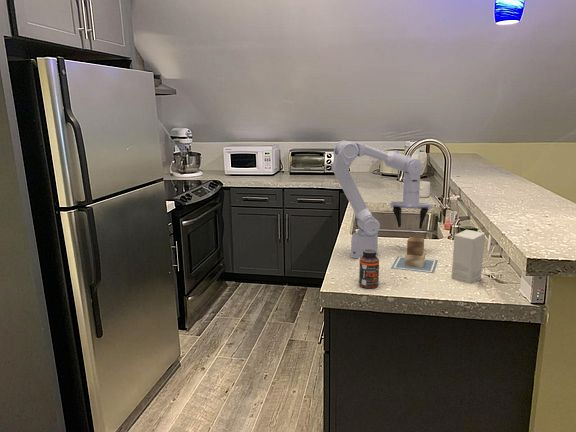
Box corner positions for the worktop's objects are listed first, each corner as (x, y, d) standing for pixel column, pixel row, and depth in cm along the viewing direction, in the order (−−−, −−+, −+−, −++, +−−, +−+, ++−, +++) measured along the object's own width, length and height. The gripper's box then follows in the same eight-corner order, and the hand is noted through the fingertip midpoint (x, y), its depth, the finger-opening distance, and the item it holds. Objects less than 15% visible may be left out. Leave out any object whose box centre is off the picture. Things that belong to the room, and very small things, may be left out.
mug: (407, 197, 280) (407, 182, 278) (413, 194, 288) (414, 180, 286) (425, 198, 273) (426, 184, 271) (431, 196, 281) (432, 181, 279)
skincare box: (462, 275, 146) (466, 228, 143) (483, 280, 142) (486, 232, 138) (450, 281, 141) (453, 234, 138) (470, 287, 136) (474, 238, 133)
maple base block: (404, 265, 153) (405, 254, 152) (407, 260, 159) (407, 249, 158) (422, 267, 151) (423, 256, 150) (424, 262, 156) (425, 251, 155)
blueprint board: (390, 271, 152) (390, 268, 151) (397, 258, 164) (397, 255, 164) (433, 276, 146) (434, 272, 146) (437, 262, 159) (437, 259, 158)
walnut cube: (406, 254, 152) (407, 240, 151) (408, 250, 157) (409, 236, 156) (422, 256, 151) (422, 241, 150) (423, 251, 155) (424, 237, 154)
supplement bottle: (366, 290, 136) (366, 254, 133) (355, 283, 141) (355, 249, 139) (382, 287, 138) (383, 252, 136) (371, 280, 143) (372, 246, 141)
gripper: (389, 192, 163) (388, 228, 166) (430, 194, 157) (429, 231, 160) (392, 189, 169) (391, 224, 172) (432, 190, 164) (431, 226, 167)
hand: (410, 227), depth 167 cm, fingers open, 7 cm apart
